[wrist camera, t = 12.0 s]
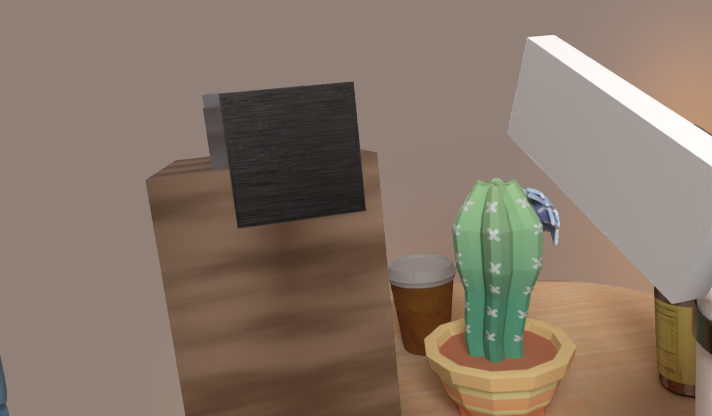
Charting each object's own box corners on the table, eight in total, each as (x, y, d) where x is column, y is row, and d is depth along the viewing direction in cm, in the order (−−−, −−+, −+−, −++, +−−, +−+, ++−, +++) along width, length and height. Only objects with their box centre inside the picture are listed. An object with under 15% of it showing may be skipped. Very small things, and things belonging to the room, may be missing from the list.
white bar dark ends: (365, 210, 16) (353, 81, 15) (237, 228, 15) (218, 94, 15) (288, 155, 41) (281, 105, 40) (238, 160, 40) (231, 110, 40)
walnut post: (410, 516, 45) (370, 77, 38) (211, 566, 42) (131, 98, 35) (362, 405, 62) (329, 90, 56) (219, 435, 59) (167, 105, 53)
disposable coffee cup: (378, 350, 76) (370, 267, 74) (420, 326, 82) (414, 249, 80) (434, 368, 69) (427, 277, 67) (474, 340, 76) (469, 257, 74)
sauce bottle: (712, 373, 62) (715, 200, 58) (733, 402, 56) (738, 213, 52) (647, 370, 63) (647, 203, 60) (662, 399, 58) (662, 215, 54)
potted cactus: (583, 467, 48) (576, 191, 44) (414, 447, 54) (392, 198, 49) (574, 381, 63) (568, 166, 58) (441, 372, 68) (426, 173, 63)
